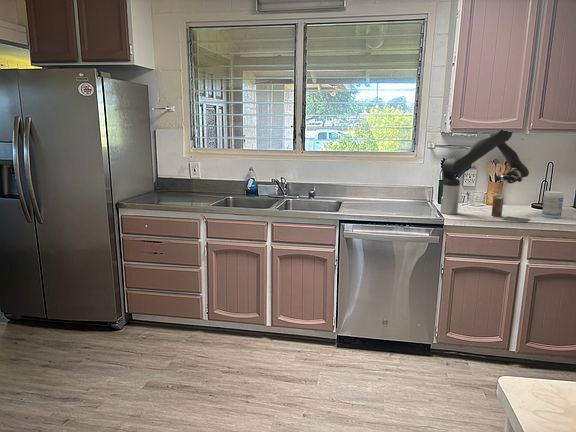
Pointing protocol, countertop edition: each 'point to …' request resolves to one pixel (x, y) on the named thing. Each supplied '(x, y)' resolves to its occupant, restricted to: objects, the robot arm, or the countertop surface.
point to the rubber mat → (516, 219)
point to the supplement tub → (552, 204)
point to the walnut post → (497, 205)
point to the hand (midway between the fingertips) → (505, 180)
